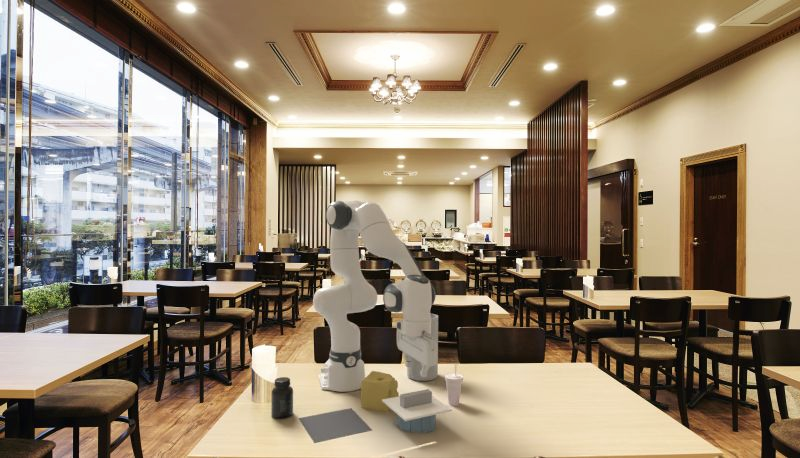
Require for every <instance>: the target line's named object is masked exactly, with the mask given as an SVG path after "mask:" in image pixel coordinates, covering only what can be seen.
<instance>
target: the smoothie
mask: <svg viewBox="0 0 800 458" xmlns="http://www.w3.org/2000/svg"><path fill="white" fill-rule="evenodd" d="M444 380H445V384H446V394H447V401H448V402H447V403H448V405H449V406H451V407H452V406H453V407H455V406H457V407H458V406H459V405H460V400H461V392H462V386H463V385H462V383H463V381H464V376H463V375H462V374H459V373H457V363H455V364H454V372H453V373H447V374H445V375H444Z"/></svg>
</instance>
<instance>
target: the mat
mask: <svg viewBox="0 0 800 458" xmlns="http://www.w3.org/2000/svg"><path fill="white" fill-rule="evenodd" d="M298 420H299V422H300V423H301V425H302V426H303V427H304V430H305V431H306V432H307V434H308V435H309V437H310V438H311V440H312V441H313V443H314V444H315V443H320V442H325V441H330V440H334V439H338V438H344V437H348V436H352V435H356V434H362V433H365V432H371V431H373V429H372V428H371V427H370V425H369V424H367V423H366V422H365V420H363V418H362V417H361V416H359V414H357V412H356V411H355V410H354V409H353V408H352V407H350V408H345V409H340V410H333V411H329V412H324V413H319V414H315V415H308V416H303V417H299V418H298Z"/></svg>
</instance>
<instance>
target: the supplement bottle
mask: <svg viewBox="0 0 800 458" xmlns="http://www.w3.org/2000/svg"><path fill="white" fill-rule="evenodd" d="M270 395H271V398H270V399H271V400H270V401H271V405H270V406H271V411H270V412H271V413H270V414H271V418H272V419H274V420H285V419H289V418H291V417H292V416H293V415H294V389H293V387H292V386H291V378H289V377H288V376H287V377H286V376H284V377H277V378H275V380H274V387H273V388H272V389H271V393H270Z"/></svg>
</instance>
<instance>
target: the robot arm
mask: <svg viewBox="0 0 800 458" xmlns="http://www.w3.org/2000/svg"><path fill="white" fill-rule="evenodd" d="M325 219H326V222H327V224H328V226H329V227H330V228H331V231H330V239H329V240H330V241H329V249H330V251H329V252H330V253H329V254H330V255H329V259H330V260H329V261H330V269H331V271H332V272H333V273H334V274H335V275H338V276H339V277H341V278H342V279H343V281H344V284H341V285H339V284H338V285H328V286H325V287H321V288H318V289H317V290H316V291H315V293H314V294H313V297H312V298H313V299H312V306H313V308H314V310H315V311H316V313H318V315H320V316H321V317H323V318H324V319H325V321H326V322H327V324H328V326H329V330H330V337H331V338H330V341H331V342H330V345H331V347H330V350H329V357H328V360H326V362H325V363H324V364H323V366H321V369H320V372H321V373H319V374H318V381H319V385H320V388H321V390H323V391H333V392H340V393H341V392H342V393H343V392H344V393H346V392H354V391H358V390H361V382H362V380H363V379H365V378H366V371H365V370H366V369H365V362H364V361H363V360H362V349H361V330H360V327H359V326H358V325H357V324H355V323H353V322H351V321H349V320H348V317H347V315H348V314H354V313H362V312H363V313H364V312H367V311H369V310H372V309H374V308H375V307H376V305H377V304H378V303H377V302H378V293H377V290H376V288H375V287H374V286H373V285H372V284H370V283H369V282H368V281H367V280H366V278H365V277H364V275H363V272H362V268H361V264H360V252H359V247H360V246H359V235H360V238H361V241H362V244H363V246H364V248H365V249H366V250H367V251H368V252H369V253H370V254H372V255H374V256H377V257H381V258H384V259H387V260H390V261H392V262H394V263H396V264H397V265H398V266H399V267H400V268H401V270H402V273H404V276H405V278H403V279H402V280H401V281H397V282H394V283H389V284H388V285H387V286H386V287H385V289H384V291H383V296H382V299H383V301H382V302H383V305H384V306H385V308H386V309H387V310H388V311H389V312H390V313H402V314H403V315H402V320H399V321H396V323H395V328H396V346H397V349H398V350H399V351H401V352H403V358H404V361H405V362H404V363H405V367H406V368H407V367H408V368H409V367H412V361H411V357H412V358H414V359H415V360H417V361H419V362H420V363H421V366H422V370H420V376H421V377H427V371H428V369H429V367H430V366H435V365H436V364H437V361H439V358H438V357H439V356H438V357H437V344H436V341H435V340H434V339H433V336H432V335H431V315H430V314H431V310H432V309H431V308H432V307H433V305H434V303H435V301H436V297H437V296H436V293H437V292H436V290H435V287H434V286H433V284H432V282H431V281H430V279H429V278H428V277H426V275H425V274H424V272H423V271H422V269H421V267H420V265H419V264H418V261H417V260H416V259H415V257H414V255H413V253H412V251H411V250H410V248H409V247H408V246H407V244H406V243H404V241H402V240H401V239H400V238H399V237H398V236H397V235H396V233H395V232H394V230H393V229H392V227H391V224H390V221H389V220H388V217H387V215H386V213H385V212H384V211H383V209H382V208H381V206H380V205H379V204H378V203H376V202H373V201H361V200H346V201H342V200H337V201H333V202H330V204H329V205H328V206H327V209H326V213H325Z"/></svg>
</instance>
